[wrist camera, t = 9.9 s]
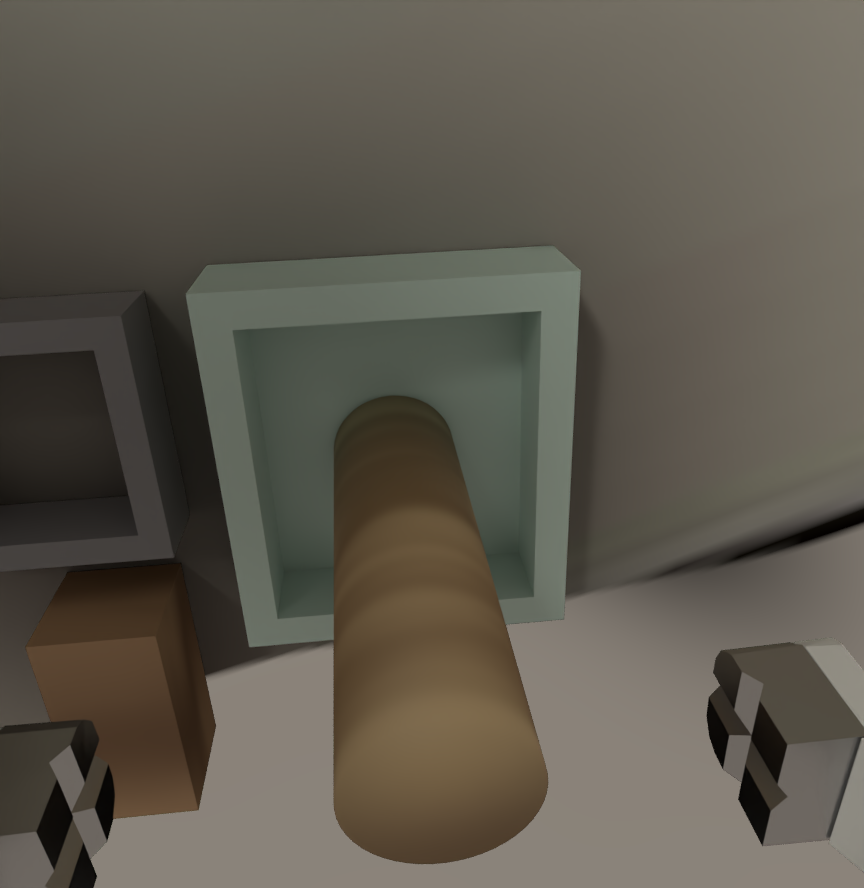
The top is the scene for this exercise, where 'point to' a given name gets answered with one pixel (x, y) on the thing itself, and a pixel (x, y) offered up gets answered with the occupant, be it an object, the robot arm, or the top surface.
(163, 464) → the socket
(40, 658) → the block
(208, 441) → the top surface
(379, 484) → the dowel
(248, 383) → the tray
